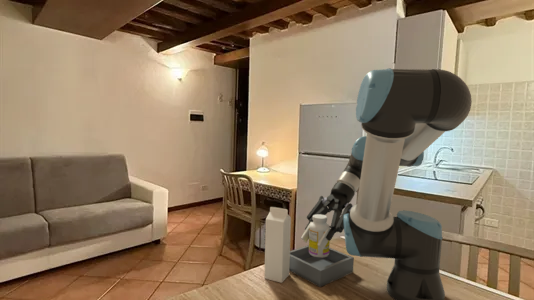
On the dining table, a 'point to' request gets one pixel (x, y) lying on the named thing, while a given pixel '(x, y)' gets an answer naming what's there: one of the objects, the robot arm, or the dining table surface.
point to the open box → (320, 265)
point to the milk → (277, 244)
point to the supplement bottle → (318, 236)
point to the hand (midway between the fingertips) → (311, 243)
